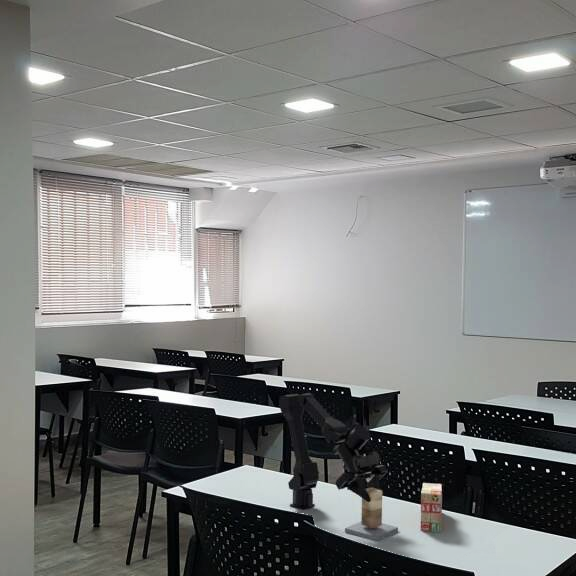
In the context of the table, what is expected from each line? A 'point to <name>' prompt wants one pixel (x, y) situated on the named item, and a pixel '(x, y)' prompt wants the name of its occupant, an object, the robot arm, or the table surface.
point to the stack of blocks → (431, 507)
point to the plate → (371, 531)
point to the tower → (372, 509)
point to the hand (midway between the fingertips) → (375, 500)
